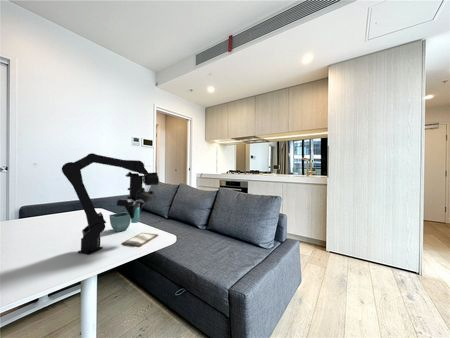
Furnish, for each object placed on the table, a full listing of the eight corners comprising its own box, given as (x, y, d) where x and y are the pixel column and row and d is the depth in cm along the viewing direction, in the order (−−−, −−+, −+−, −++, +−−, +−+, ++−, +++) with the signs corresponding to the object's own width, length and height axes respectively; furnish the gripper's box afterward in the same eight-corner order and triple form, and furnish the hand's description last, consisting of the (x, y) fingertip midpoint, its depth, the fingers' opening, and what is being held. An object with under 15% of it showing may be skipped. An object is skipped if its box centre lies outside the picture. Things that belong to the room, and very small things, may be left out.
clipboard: (140, 246, 87) (140, 243, 87) (121, 244, 90) (121, 241, 90) (158, 235, 102) (158, 233, 102) (142, 233, 104) (142, 231, 104)
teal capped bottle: (135, 223, 91) (136, 204, 91) (129, 222, 92) (129, 204, 92) (141, 221, 95) (141, 203, 95) (134, 220, 96) (134, 202, 96)
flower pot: (115, 233, 103) (115, 217, 103) (108, 230, 108) (108, 214, 108) (131, 229, 110) (131, 214, 110) (124, 226, 115) (124, 212, 115)
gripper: (138, 188, 82) (136, 224, 83) (161, 185, 101) (160, 214, 101) (116, 187, 85) (115, 221, 85) (142, 184, 103) (141, 212, 103)
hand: (135, 217), depth 93 cm, fingers closed on teal capped bottle, 4 cm apart
